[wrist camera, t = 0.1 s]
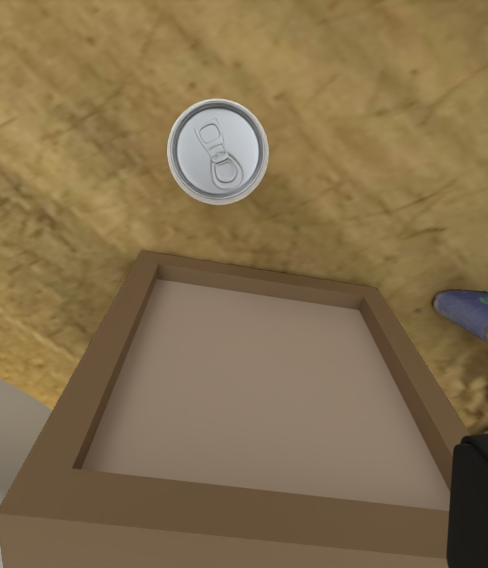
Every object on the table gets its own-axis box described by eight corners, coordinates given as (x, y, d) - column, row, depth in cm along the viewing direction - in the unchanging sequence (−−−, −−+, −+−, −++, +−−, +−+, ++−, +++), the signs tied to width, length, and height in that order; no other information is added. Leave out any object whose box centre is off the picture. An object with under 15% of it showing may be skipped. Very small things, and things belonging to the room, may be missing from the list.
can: (201, 210, 37) (192, 224, 26) (169, 141, 36) (143, 121, 24) (268, 180, 37) (289, 179, 25) (237, 108, 36) (245, 72, 24)
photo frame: (143, 248, 38) (1, 368, 14) (373, 285, 40) (608, 448, 16) (126, 396, 41) (-12, 702, 17) (339, 423, 43) (488, 733, 19)
